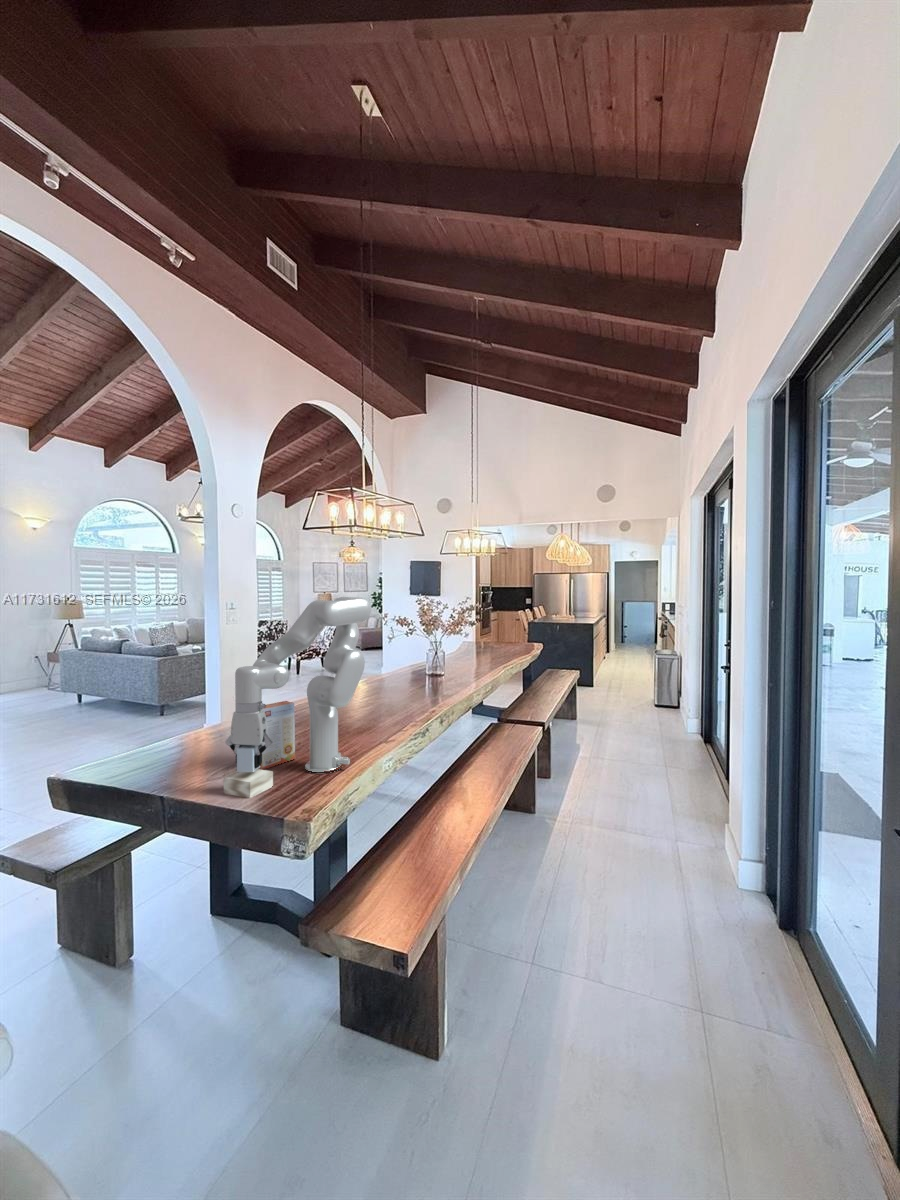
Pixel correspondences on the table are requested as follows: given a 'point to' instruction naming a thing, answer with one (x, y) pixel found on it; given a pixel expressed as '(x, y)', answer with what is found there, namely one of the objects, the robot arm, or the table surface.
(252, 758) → the blue-grey block
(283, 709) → the cracker box
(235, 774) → the ash base block
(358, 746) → the table surface
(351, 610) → the robot arm
